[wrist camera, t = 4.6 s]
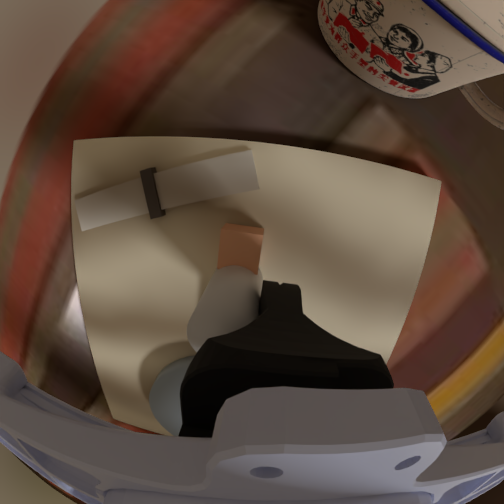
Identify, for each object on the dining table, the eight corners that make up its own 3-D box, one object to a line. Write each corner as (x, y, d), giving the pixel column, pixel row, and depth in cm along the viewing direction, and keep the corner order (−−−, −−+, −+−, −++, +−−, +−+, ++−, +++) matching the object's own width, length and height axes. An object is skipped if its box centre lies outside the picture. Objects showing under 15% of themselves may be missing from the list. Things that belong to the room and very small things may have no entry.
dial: (280, 449, 18) (279, 498, 13) (160, 428, 18) (143, 474, 14) (348, 241, 13) (387, 284, 8) (145, 212, 13) (87, 239, 8)
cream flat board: (333, 443, 20) (335, 458, 18) (118, 409, 20) (110, 422, 18) (430, 179, 13) (447, 182, 11) (85, 140, 13) (67, 140, 11)
